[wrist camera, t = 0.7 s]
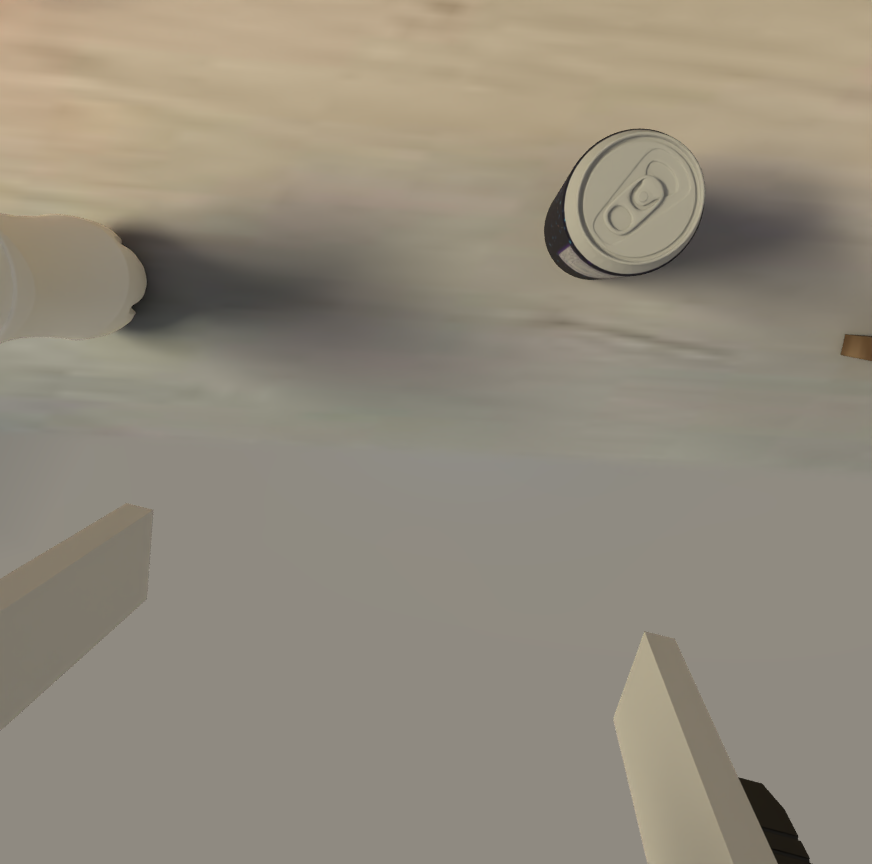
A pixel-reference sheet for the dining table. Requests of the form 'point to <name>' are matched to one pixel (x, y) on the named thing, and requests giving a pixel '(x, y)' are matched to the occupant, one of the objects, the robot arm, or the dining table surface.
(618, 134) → the beverage can
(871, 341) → the corral
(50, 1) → the dining table surface
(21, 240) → the water bottle
